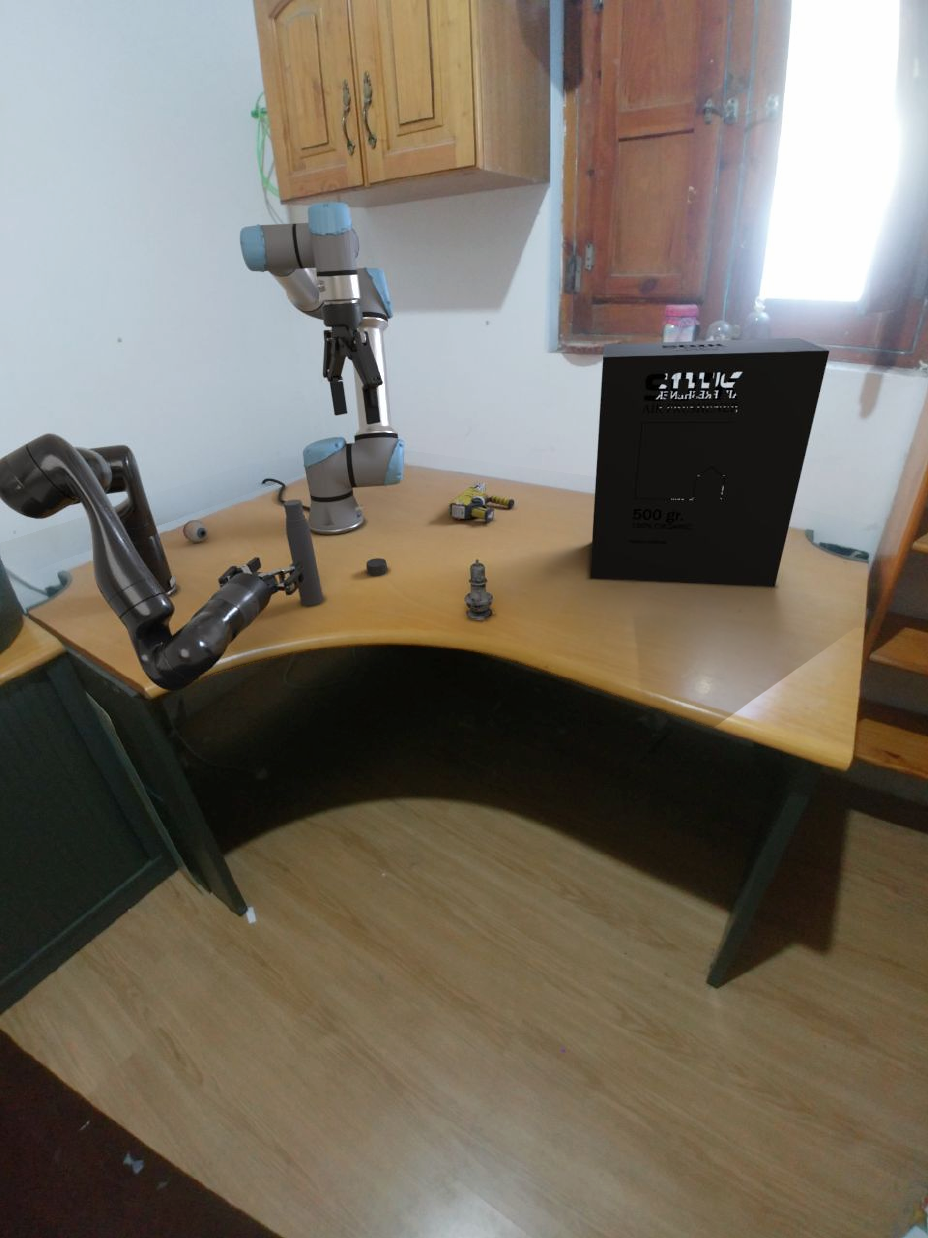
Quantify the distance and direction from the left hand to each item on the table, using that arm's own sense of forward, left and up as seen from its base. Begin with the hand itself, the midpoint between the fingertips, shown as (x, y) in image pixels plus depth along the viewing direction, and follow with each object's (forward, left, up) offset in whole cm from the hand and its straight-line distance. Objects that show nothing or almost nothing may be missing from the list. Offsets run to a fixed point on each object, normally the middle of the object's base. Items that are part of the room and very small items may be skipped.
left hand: (279, 562), depth 115 cm
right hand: (+10, +25, +21) cm, 34 cm away
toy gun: (+30, +68, -14) cm, 75 cm away
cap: (+10, +25, -12) cm, 29 cm away
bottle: (0, +10, -14) cm, 17 cm away
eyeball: (-45, +40, -14) cm, 62 cm away
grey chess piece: (+37, +7, -14) cm, 40 cm away
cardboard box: (+78, +35, -14) cm, 87 cm away
